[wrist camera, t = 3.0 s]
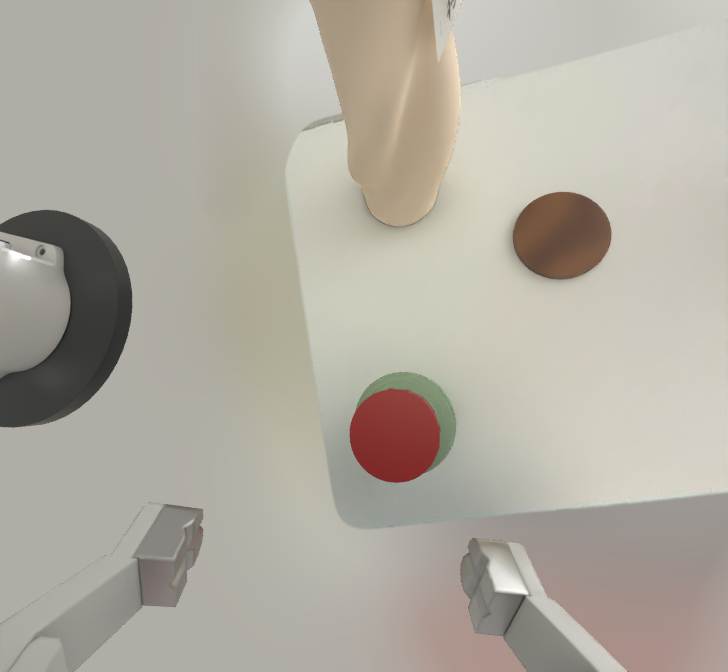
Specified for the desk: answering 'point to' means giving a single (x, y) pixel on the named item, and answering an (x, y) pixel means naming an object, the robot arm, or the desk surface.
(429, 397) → the bottle
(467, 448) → the desk surface
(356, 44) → the water bottle
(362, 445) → the cap
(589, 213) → the coaster
